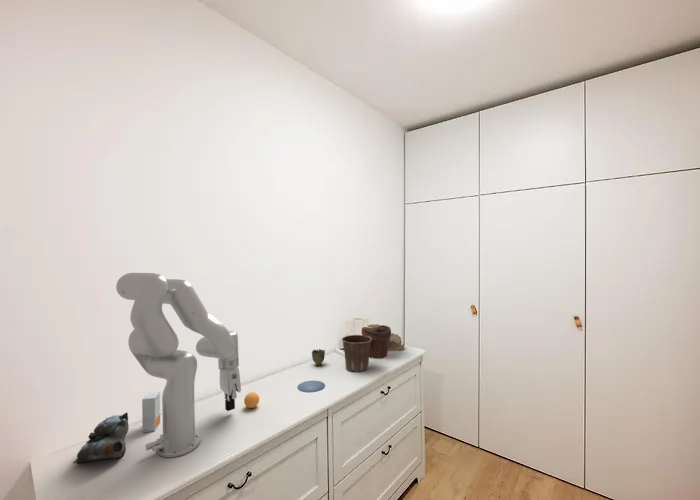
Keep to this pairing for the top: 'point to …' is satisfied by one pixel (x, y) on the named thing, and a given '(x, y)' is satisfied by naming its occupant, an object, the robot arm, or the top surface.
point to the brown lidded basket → (378, 340)
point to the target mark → (311, 386)
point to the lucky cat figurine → (106, 440)
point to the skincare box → (150, 412)
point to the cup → (318, 356)
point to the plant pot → (356, 352)
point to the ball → (251, 400)
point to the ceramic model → (395, 343)
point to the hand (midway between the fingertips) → (230, 409)
